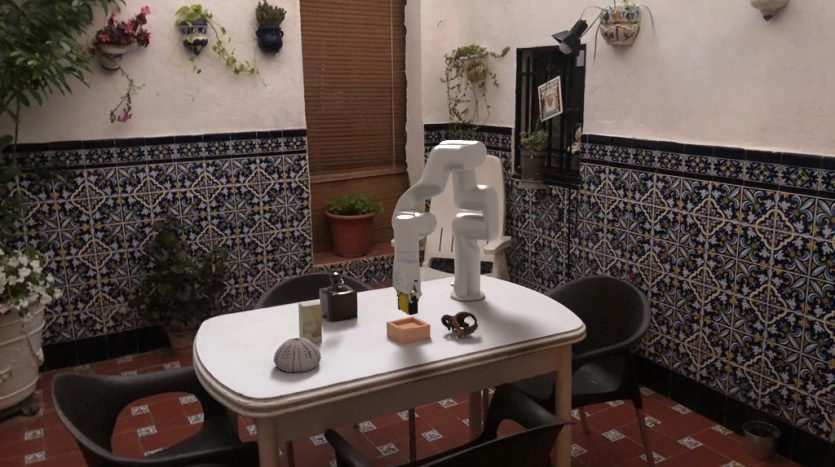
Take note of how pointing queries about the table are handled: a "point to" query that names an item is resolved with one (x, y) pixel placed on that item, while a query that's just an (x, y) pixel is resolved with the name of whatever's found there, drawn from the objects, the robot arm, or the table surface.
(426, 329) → the orange square tray
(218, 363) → the table surface
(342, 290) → the dark square decanter
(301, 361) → the sea urchin shell
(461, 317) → the pottery mug
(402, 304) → the lemon
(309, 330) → the skincare box
